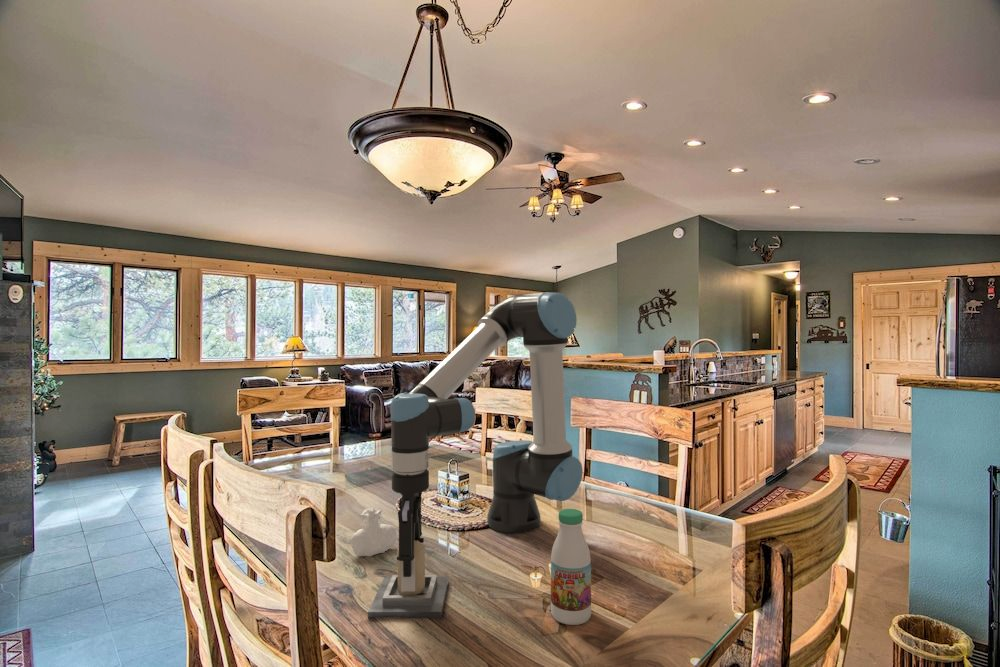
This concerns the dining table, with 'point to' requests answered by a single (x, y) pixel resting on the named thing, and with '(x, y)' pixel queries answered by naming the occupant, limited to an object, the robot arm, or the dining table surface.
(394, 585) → the plate
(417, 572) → the candle
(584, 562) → the milk bottle
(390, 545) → the white animal figurine
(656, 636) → the dining table surface
